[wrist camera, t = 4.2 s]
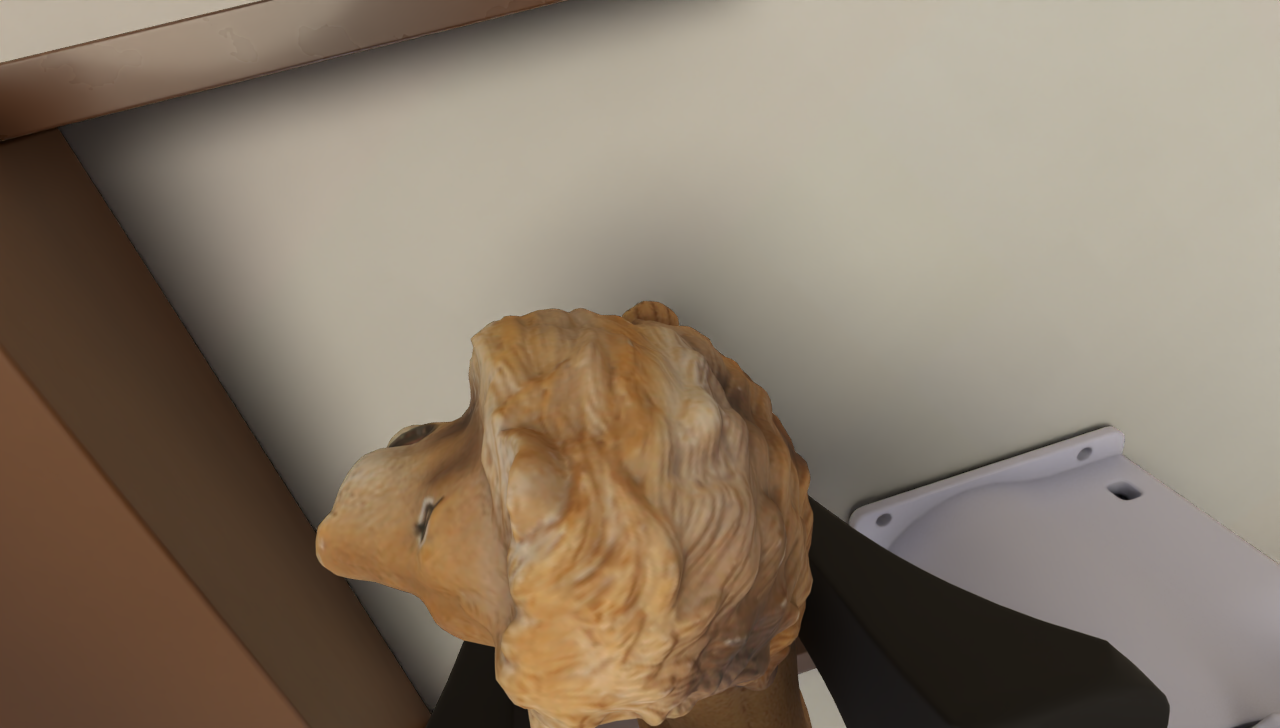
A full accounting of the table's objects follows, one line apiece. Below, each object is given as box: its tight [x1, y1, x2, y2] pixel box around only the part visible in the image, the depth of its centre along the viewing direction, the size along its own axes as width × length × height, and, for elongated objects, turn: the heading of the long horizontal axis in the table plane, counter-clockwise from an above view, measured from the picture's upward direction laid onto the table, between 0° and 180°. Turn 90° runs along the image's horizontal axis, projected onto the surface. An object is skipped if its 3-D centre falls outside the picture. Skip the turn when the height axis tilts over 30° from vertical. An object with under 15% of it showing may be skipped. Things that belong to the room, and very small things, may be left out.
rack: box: [0, 0, 816, 728], centre depth 15 cm, size 20×21×6 cm
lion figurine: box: [316, 301, 813, 728], centre depth 12 cm, size 15×5×9 cm, turn 24°
